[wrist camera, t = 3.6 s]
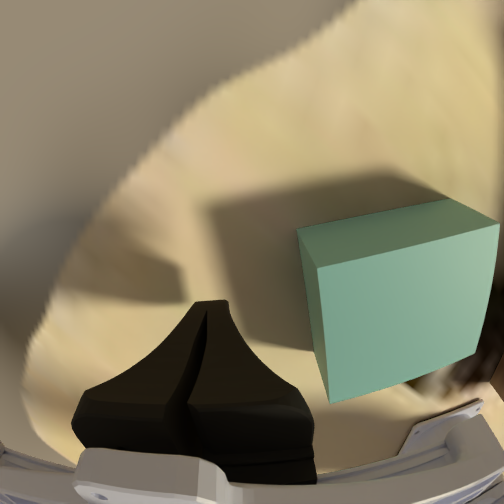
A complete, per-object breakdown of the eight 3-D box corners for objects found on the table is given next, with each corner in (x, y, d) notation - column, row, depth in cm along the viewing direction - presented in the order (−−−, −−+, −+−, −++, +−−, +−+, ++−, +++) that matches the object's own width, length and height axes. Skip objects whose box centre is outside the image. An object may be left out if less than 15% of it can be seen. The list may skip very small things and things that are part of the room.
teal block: (439, 312, 16) (474, 353, 12) (312, 348, 16) (329, 404, 13) (447, 196, 13) (499, 223, 10) (295, 227, 13) (316, 268, 10)
